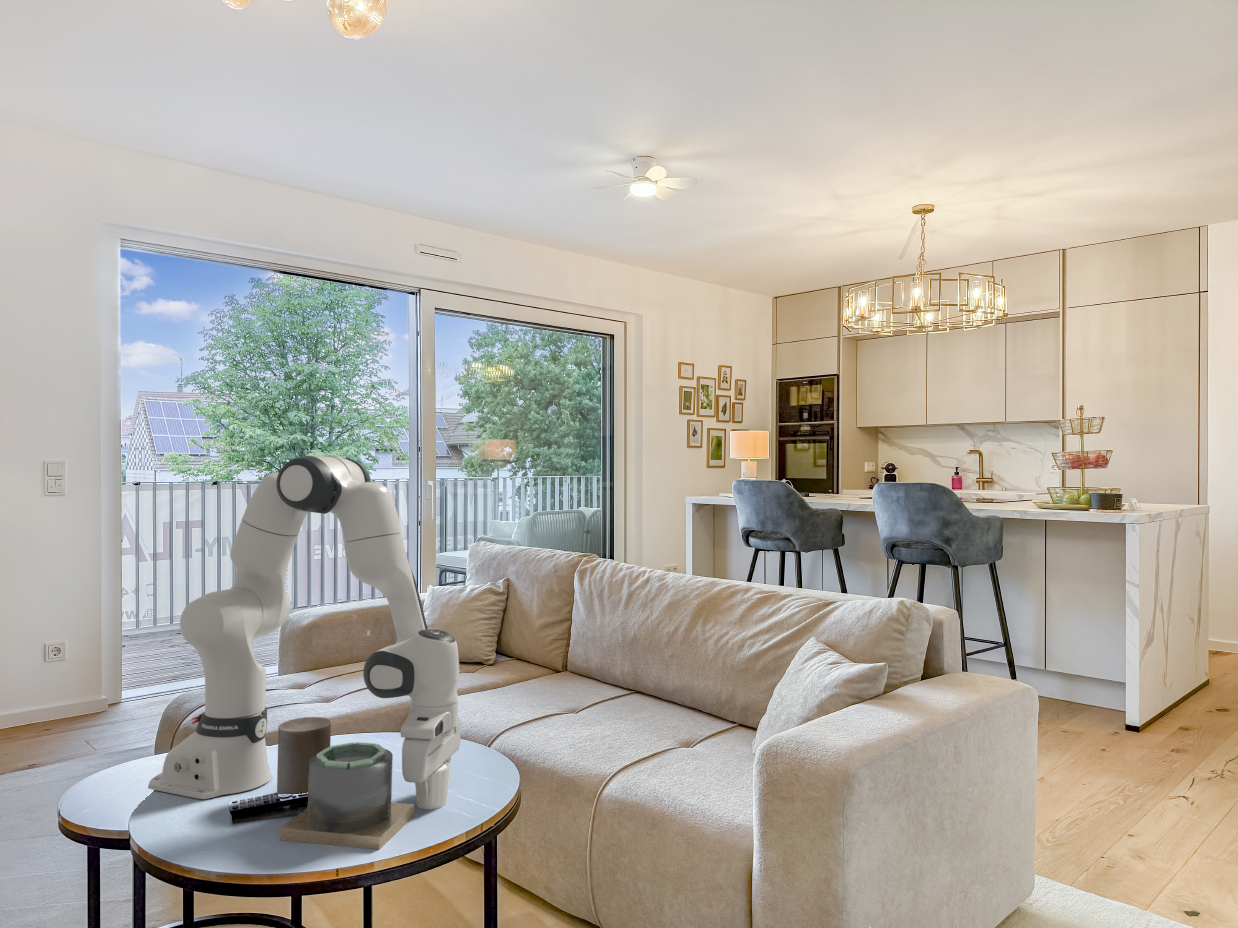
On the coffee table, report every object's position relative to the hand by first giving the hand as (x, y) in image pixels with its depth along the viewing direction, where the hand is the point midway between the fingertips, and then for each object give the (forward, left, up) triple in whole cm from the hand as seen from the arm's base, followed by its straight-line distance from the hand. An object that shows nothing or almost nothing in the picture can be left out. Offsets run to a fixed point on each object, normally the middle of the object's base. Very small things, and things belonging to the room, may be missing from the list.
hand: (432, 789), depth 151 cm
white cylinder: (0, 0, -3) cm, 3 cm away
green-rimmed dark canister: (-10, -13, -3) cm, 17 cm away
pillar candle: (-26, -1, -3) cm, 26 cm away
